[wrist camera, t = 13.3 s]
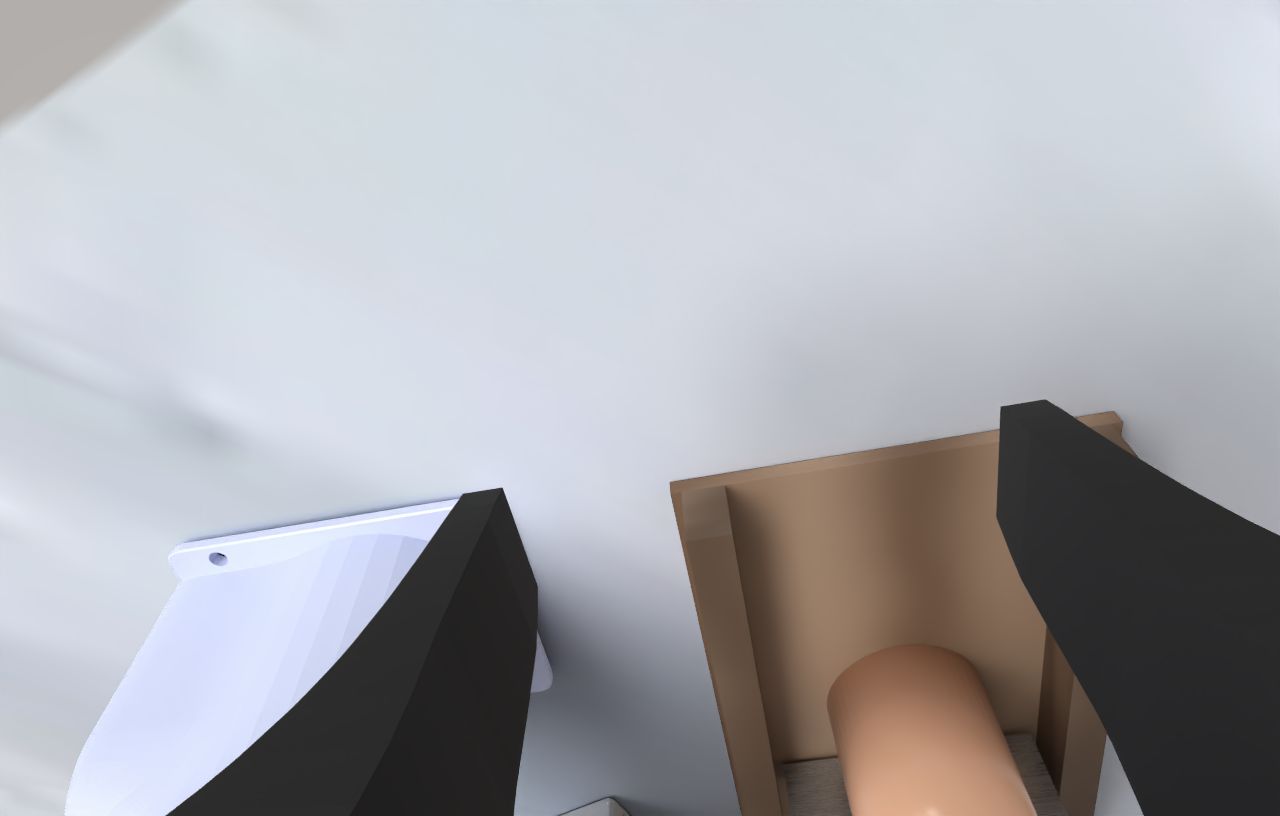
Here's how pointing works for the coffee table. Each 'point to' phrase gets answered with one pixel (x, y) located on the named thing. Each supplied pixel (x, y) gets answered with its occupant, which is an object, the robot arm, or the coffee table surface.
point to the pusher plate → (825, 800)
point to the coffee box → (599, 809)
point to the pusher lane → (871, 602)
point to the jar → (922, 738)
